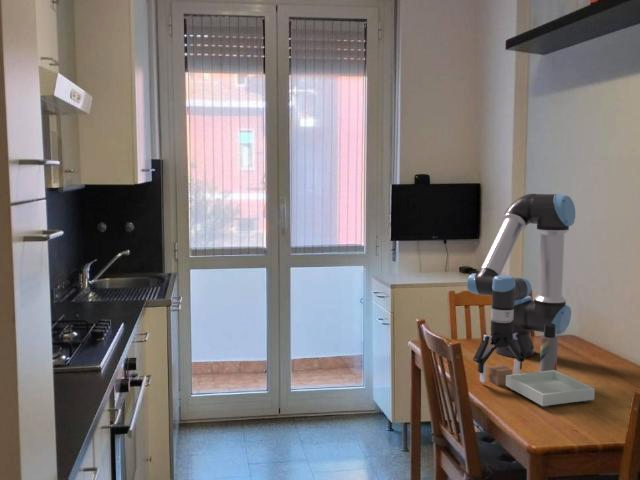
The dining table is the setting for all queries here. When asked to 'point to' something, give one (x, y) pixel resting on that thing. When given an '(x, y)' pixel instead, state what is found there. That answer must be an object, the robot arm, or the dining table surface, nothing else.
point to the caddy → (550, 388)
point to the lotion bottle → (549, 348)
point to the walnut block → (499, 374)
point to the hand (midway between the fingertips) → (499, 380)
